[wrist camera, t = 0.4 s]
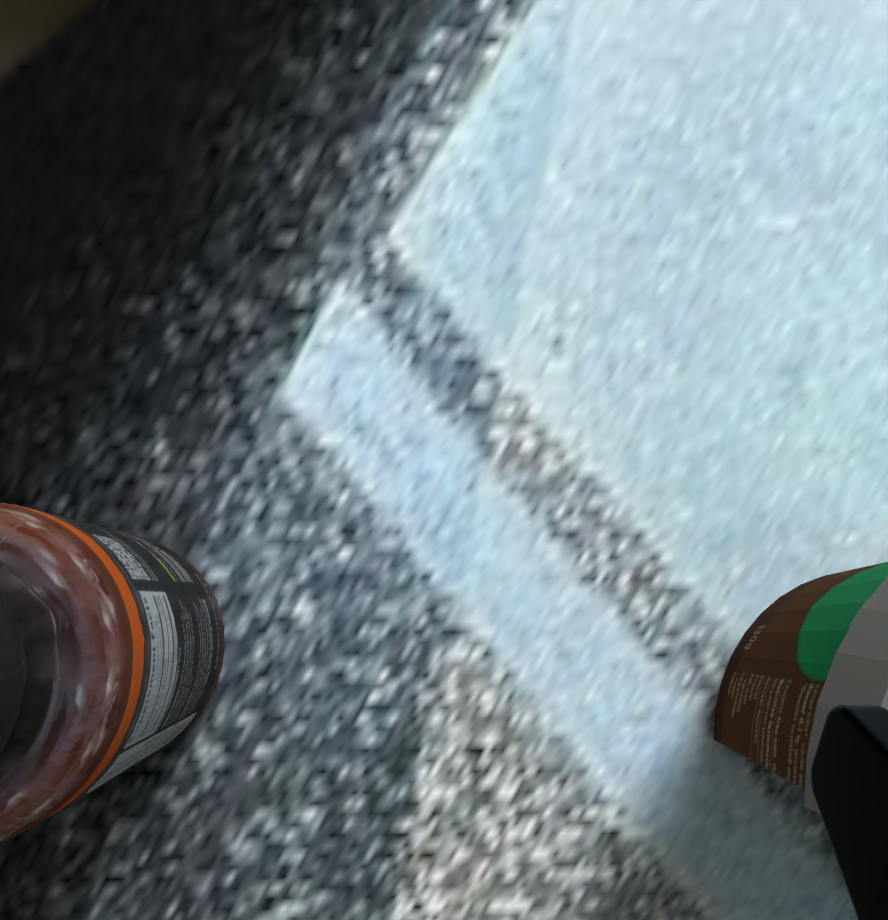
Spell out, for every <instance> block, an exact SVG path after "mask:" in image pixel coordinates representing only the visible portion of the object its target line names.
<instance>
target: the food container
mask: <svg viewBox="0 0 888 920" xmlns="http://www.w3.org/2000/svg"><path fill="white" fill-rule="evenodd" d="M839 704H875V705H879V706H882V707H883V708H885V709H887V710H888V562H885V563H881V564H876V565H872V566H867V567H863V568H858V569H854V570H849V571H844V572H840V573H835V574H831V575H826V576H823V577H820V578H817V579H815V580H812V581H809V582H807V583H804V584H801V585H800V586H798V587H796V588H795V589H793V590H791V591H790V592H788V593H786V594H785V595H783V596H781V597H780V598H778V599H777V600H776V601H775V602H774V603H773V604H771V605H770V606H769V607H768V608H767V609H766V610H765V611H763V612H762V613H761V614H760V615H759V617H758V618H757V619H756V620H755V621H754V623H753V624H752V625H751V626H750V628H749V629H748V630H747V631H746V632H745V634H744V635H743V637H742V639H741V641H740V642H739V644H738V646H737V648H736V649H735V651H734V653H733V654H732V656H731V659H730V661H729V664H728V667H727V669H726V672H725V674H724V677H723V679H722V683H721V687H720V692H719V696H718V701H717V705H716V713H715V728H714V740H716V741H717V742H719V743H721V744H723V745H725V746H726V747H728V748H730V749H732V750H734V751H735V752H737V753H739V754H741V755H743V756H744V757H746V758H748V759H750V760H752V761H754V762H755V763H757V764H759V765H761V766H763V767H764V768H766V769H768V770H770V771H772V772H773V773H775V774H777V775H779V776H781V777H782V778H784V779H786V780H788V781H790V782H791V783H793V784H795V785H797V786H799V787H801V788H802V789H804V790H805V797H804V807H805V808H807V809H810V810H813V811H815V812H818V813H820V811H819V808H818V805H817V803H816V800H815V797H814V794H813V790H812V785H811V767H812V762H813V759H814V756H815V752H816V749H817V746H818V743H819V739H820V736H821V733H822V729H823V726H824V723H825V720H826V717H827V714H828V712H829V711H830V710H831V709H832V708H833V707H834V706H836V705H839Z"/></svg>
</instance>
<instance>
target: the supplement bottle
mask: <svg viewBox="0 0 888 920" xmlns="http://www.w3.org/2000/svg"><path fill="white" fill-rule="evenodd" d="M224 644H225V641H224V627H223V622H222V615H221V612H220V609H219V605H218V601H217V600H216V598H215V596H214V594H213V593H212V591H211V589H210V587H209V585H208V583H207V582H206V581H205V579H204V578H203V577H202V575H201V574H200V573H199V572H198V571H197V570H196V569H195V568H194V566H193V565H191V564H190V563H189V562H188V561H187V560H186V559H184V558H183V557H181V556H180V555H178V554H177V553H175V552H173V551H172V550H170V549H168V548H166V547H164V546H163V545H161V544H159V543H157V542H154V541H151V540H148V539H146V538H141V537H138V536H134V535H131V534H127V533H123V532H119V531H115V530H113V529H109V528H104V527H100V526H96V525H92V524H89V523H84V522H81V521H77V520H73V519H69V518H65V517H61V516H58V515H53V514H49V513H46V512H42V511H39V510H36V509H29V508H25V507H21V506H18V505H12V504H5V503H0V843H2V842H4V841H6V840H8V839H10V838H13V837H15V836H17V835H19V834H20V833H22V832H24V831H26V830H28V829H30V828H32V827H34V826H36V825H37V824H39V823H40V822H42V821H43V820H45V819H47V818H49V817H52V816H53V815H55V814H57V813H58V812H59V811H61V810H63V809H65V808H66V807H68V806H69V805H70V804H72V803H74V802H75V801H77V800H79V799H81V798H83V797H85V796H86V795H88V794H89V793H91V792H93V791H95V790H96V789H98V788H100V787H102V786H104V785H105V784H107V783H108V782H109V781H111V780H112V779H114V778H115V777H116V776H118V775H120V774H121V773H123V772H125V771H127V770H137V769H138V767H133V766H134V765H136V764H139V763H141V760H143V759H145V758H146V757H149V756H151V755H153V754H154V753H156V752H157V751H159V750H160V749H161V748H163V747H164V746H165V745H166V744H168V743H169V742H170V741H172V740H173V739H174V738H175V737H176V736H178V735H179V734H180V733H181V732H183V731H184V730H185V729H186V728H187V727H188V726H189V725H190V724H191V723H192V721H193V720H195V719H196V717H197V716H198V714H199V713H200V712H201V710H202V709H203V708H204V707H205V705H206V703H207V701H208V700H209V699H210V696H211V694H212V692H213V691H214V688H215V686H216V683H217V681H218V678H219V674H220V670H221V667H222V663H223V655H224Z"/></svg>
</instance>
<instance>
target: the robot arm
mask: <svg viewBox="0 0 888 920" xmlns="http://www.w3.org/2000/svg"><path fill="white" fill-rule="evenodd" d="M811 785H812V790H813V794H814V797H815V800H816V803H817V805H818V808H819V811H820V814H821V817H822V819H823V822H824V825H825V828H826V831H827V833H828V836H829V839H830V842H831V845H832V847H833V850H834V853H835V856H836V859H837V861H838V864H839V867H840V870H841V873H842V875H843V878H844V881H845V884H846V887H847V889H848V892H849V895H850V898H851V901H852V903H853V906H854V909H855V912H856V915H857V917H858V920H888V710H887V709H885V708H883V707H882V706H879V705H875V704H839V705H836V706H834V707H833V708H832V709H831V710H830V711H829V712H828V714H827V717H826V720H825V723H824V726H823V729H822V733H821V736H820V739H819V743H818V746H817V749H816V752H815V756H814V759H813V762H812V767H811Z"/></svg>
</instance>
